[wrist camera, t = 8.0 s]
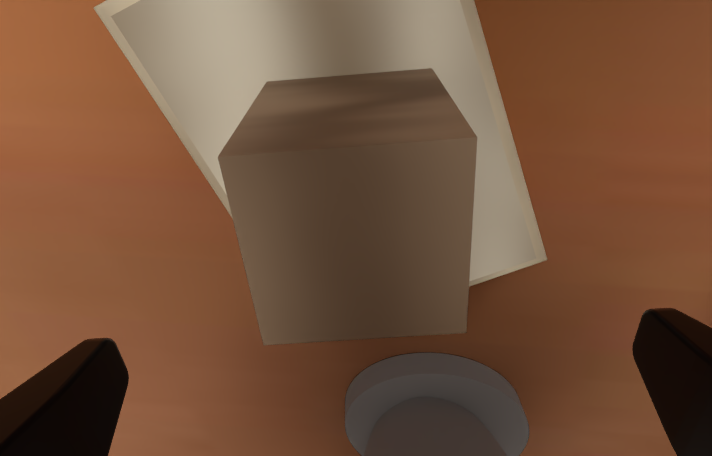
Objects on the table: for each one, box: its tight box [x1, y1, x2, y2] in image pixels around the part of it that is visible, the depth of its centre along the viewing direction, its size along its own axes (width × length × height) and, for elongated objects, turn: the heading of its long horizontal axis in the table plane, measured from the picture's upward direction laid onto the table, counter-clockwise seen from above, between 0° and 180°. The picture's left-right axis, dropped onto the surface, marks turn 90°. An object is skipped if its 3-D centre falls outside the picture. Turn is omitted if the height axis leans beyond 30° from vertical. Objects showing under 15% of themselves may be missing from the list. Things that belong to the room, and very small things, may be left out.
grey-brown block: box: [218, 68, 477, 345], centre depth 13 cm, size 5×5×6 cm
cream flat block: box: [94, 0, 547, 286], centre depth 17 cm, size 10×14×4 cm
